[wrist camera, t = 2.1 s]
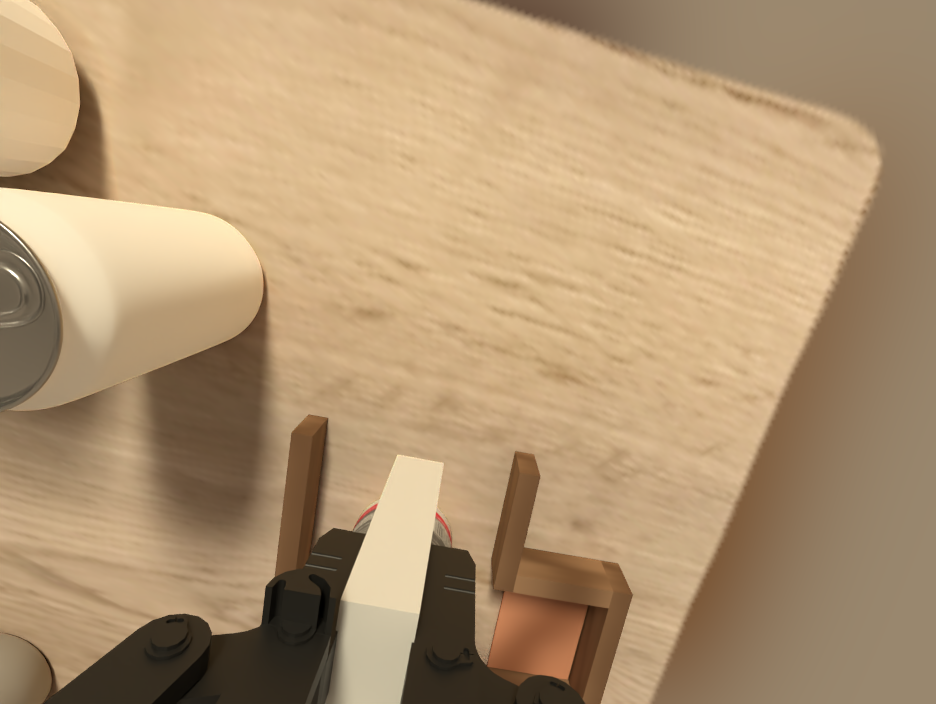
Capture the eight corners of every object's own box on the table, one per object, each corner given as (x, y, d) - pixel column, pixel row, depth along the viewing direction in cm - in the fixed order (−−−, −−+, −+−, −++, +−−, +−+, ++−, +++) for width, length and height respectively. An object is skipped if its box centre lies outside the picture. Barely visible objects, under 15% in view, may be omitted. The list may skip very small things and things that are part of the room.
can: (290, 312, 24) (125, 375, 13) (179, 363, 25) (-78, 467, 13) (226, 188, 23) (-23, 130, 12) (110, 244, 24) (-240, 244, 12)
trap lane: (162, 842, 32) (131, 903, 29) (193, 394, 25) (157, 413, 22) (523, 895, 33) (528, 959, 30) (643, 474, 26) (665, 503, 23)
